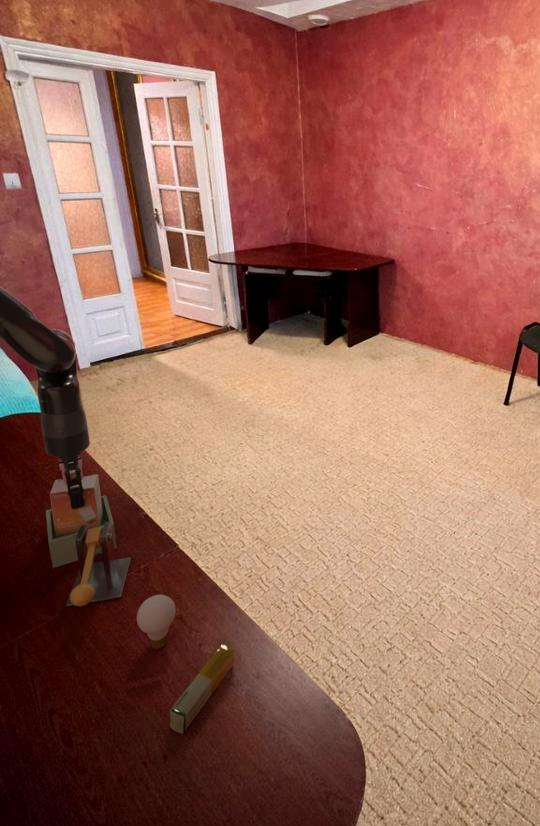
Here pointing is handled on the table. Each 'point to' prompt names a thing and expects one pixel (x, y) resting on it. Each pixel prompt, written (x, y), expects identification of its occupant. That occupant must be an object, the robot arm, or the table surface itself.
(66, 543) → the grey-green open bin
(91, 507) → the small box
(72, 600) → the tap lever
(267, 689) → the table surface
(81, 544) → the grey metal angular piece
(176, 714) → the medication box
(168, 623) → the light bulb
